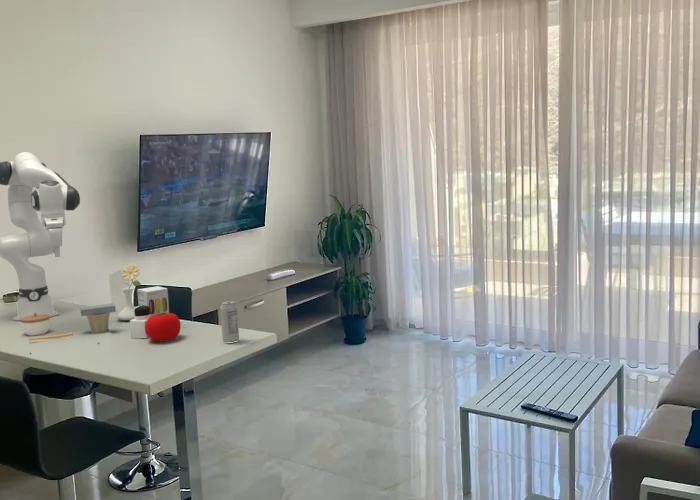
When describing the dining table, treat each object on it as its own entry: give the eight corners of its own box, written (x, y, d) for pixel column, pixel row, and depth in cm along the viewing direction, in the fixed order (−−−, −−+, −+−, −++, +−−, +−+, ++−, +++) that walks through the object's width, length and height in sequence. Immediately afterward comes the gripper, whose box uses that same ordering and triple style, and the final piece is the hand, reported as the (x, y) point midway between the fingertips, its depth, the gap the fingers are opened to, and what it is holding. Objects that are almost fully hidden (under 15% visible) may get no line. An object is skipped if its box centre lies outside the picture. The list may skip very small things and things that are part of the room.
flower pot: (91, 331, 275) (89, 310, 274) (115, 329, 276) (113, 309, 275) (84, 337, 266) (82, 315, 264) (108, 335, 266) (106, 314, 265)
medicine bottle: (157, 334, 265) (154, 304, 263) (146, 339, 258) (143, 308, 257) (142, 333, 267) (139, 304, 266) (130, 338, 260) (128, 308, 259)
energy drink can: (233, 338, 252) (230, 300, 250) (242, 341, 248) (239, 302, 246) (219, 342, 248) (216, 303, 246) (228, 345, 244) (226, 305, 242)
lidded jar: (40, 339, 265) (37, 316, 264) (17, 339, 268) (14, 316, 266) (57, 332, 276) (55, 310, 274) (34, 332, 278) (32, 310, 277)
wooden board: (29, 340, 265) (29, 337, 264) (72, 334, 271) (72, 331, 271) (29, 346, 256) (29, 343, 255) (74, 339, 262) (73, 337, 262)
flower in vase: (111, 321, 290) (105, 265, 287) (129, 315, 301) (124, 261, 297) (135, 323, 285) (130, 265, 282) (152, 317, 296) (147, 261, 293)
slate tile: (80, 313, 269) (79, 307, 269) (113, 309, 275) (113, 303, 275) (81, 316, 264) (80, 310, 264) (115, 311, 270) (115, 305, 269)
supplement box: (149, 332, 268) (145, 291, 265) (139, 329, 275) (136, 289, 272) (171, 328, 274) (168, 287, 272) (161, 324, 281) (158, 285, 278)
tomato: (171, 344, 248) (169, 317, 247) (139, 344, 250) (137, 317, 249) (187, 334, 262) (185, 308, 261) (157, 334, 264) (155, 308, 263)
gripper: (44, 219, 276) (47, 252, 278) (45, 224, 258) (49, 259, 260) (60, 218, 279) (63, 250, 281) (63, 222, 260) (66, 257, 263)
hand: (56, 255), depth 270 cm, fingers open, 8 cm apart
